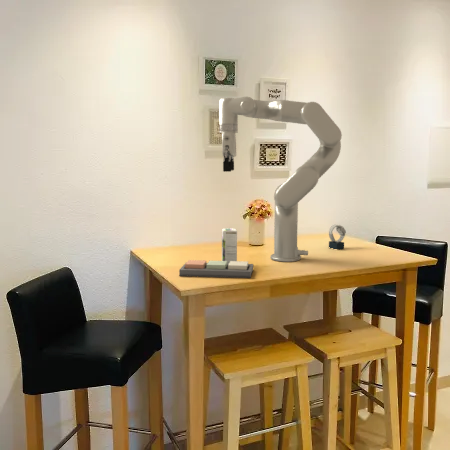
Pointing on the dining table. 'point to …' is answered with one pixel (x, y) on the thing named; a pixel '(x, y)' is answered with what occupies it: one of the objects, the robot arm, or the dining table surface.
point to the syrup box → (229, 244)
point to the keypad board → (216, 272)
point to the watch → (338, 243)
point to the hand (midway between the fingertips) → (228, 170)
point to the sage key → (216, 265)
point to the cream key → (238, 265)
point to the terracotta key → (195, 264)
